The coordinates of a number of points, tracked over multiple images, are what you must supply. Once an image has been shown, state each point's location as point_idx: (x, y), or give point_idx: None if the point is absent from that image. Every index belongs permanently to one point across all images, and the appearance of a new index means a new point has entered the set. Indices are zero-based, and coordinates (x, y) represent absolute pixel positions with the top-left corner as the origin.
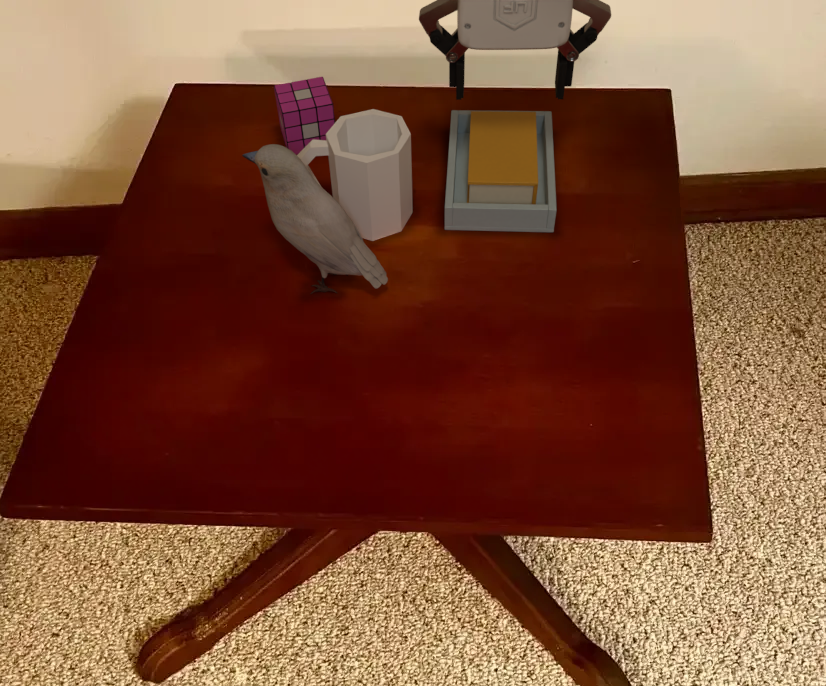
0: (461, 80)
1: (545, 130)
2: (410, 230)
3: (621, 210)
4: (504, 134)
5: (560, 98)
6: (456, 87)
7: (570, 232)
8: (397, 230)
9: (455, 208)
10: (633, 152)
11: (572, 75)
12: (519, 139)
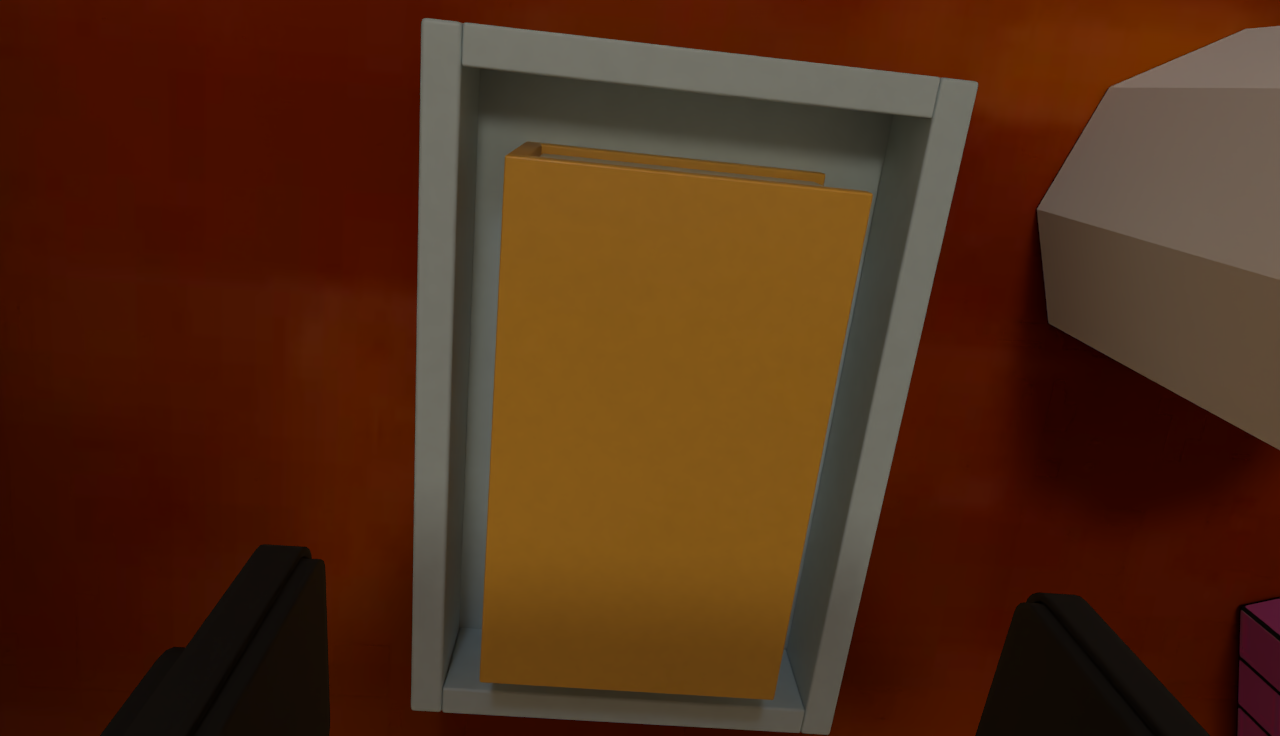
0: (1140, 709)
1: (443, 596)
2: (1067, 93)
3: (143, 162)
4: (640, 539)
5: (285, 548)
6: (1139, 662)
7: (373, 26)
8: (1135, 78)
9: (925, 77)
10: (100, 518)
11: (114, 718)
12: (572, 500)
